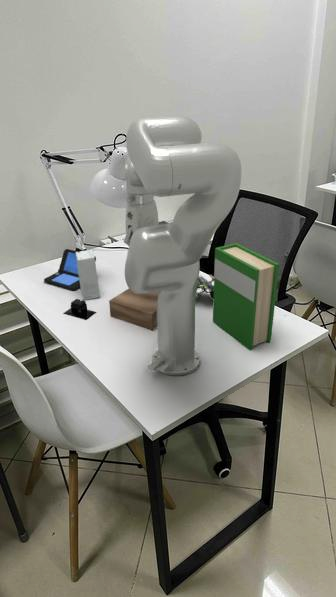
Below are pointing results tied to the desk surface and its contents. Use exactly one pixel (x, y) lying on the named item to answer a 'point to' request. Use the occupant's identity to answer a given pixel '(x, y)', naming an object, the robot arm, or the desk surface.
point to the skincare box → (87, 274)
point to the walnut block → (136, 308)
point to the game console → (66, 272)
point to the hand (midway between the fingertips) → (143, 257)
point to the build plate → (79, 310)
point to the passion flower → (205, 286)
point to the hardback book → (244, 294)
